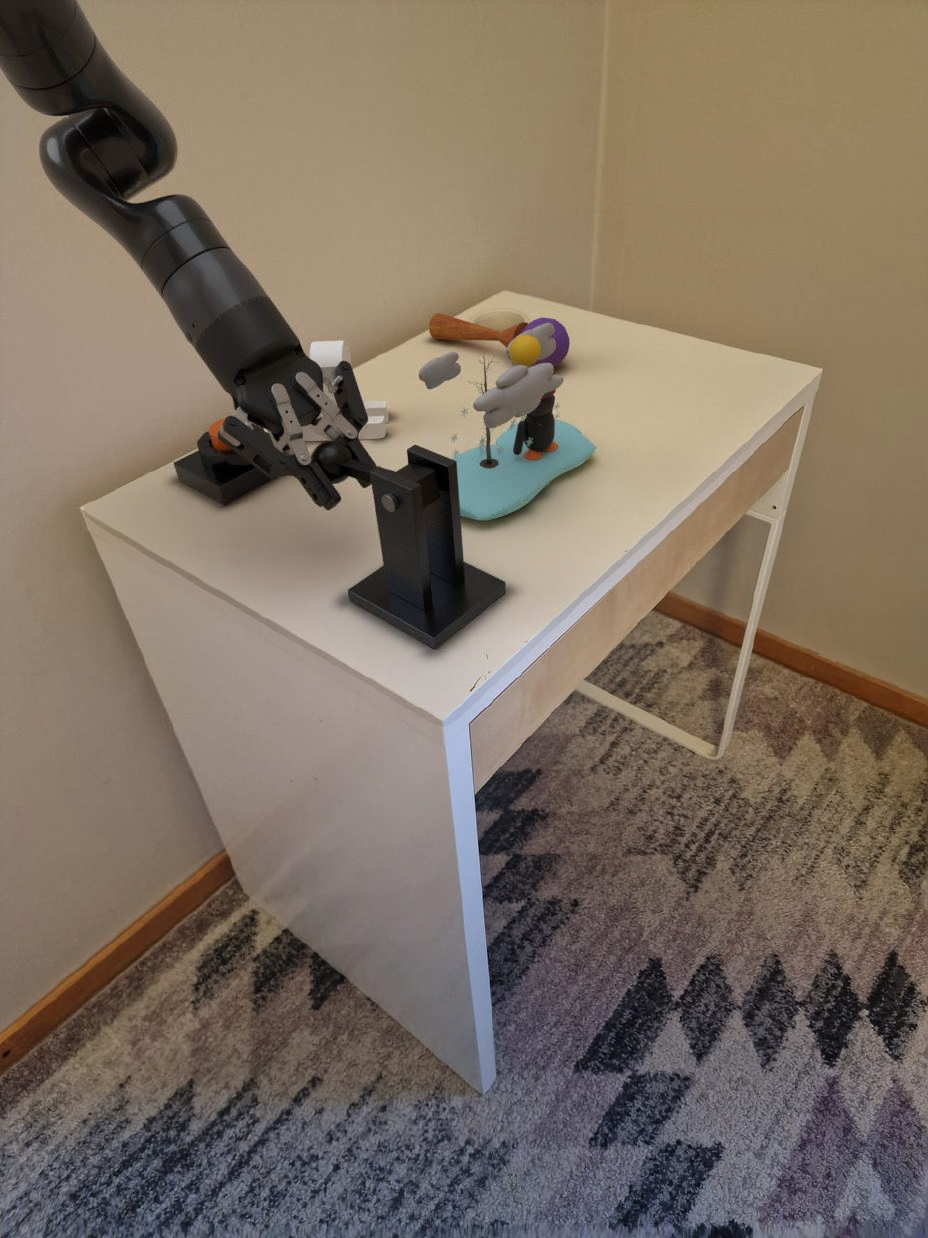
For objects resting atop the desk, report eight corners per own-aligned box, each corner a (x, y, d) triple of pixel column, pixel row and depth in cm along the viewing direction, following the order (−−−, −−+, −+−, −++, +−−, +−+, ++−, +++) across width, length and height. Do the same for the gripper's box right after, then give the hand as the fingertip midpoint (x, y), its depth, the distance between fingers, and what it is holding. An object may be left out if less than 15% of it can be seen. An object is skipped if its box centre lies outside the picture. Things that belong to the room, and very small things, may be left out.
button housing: (224, 506, 85) (214, 471, 83) (178, 480, 90) (167, 447, 87) (300, 463, 91) (293, 430, 88) (254, 441, 95) (246, 409, 92)
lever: (307, 486, 73) (296, 448, 71) (339, 468, 75) (328, 430, 73) (416, 521, 65) (407, 479, 63) (448, 500, 67) (440, 458, 65)
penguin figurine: (538, 424, 94) (538, 285, 84) (616, 456, 88) (625, 311, 78) (403, 501, 84) (385, 354, 74) (481, 542, 78) (472, 388, 68)
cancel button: (228, 455, 86) (224, 440, 84) (204, 444, 88) (200, 428, 87) (259, 439, 88) (256, 424, 87) (235, 428, 90) (232, 413, 89)
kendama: (451, 299, 113) (580, 317, 102) (451, 345, 116) (576, 367, 105) (421, 305, 109) (552, 324, 98) (422, 353, 112) (549, 377, 101)
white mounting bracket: (304, 418, 98) (287, 334, 92) (389, 415, 98) (378, 330, 91) (295, 441, 94) (278, 355, 88) (384, 438, 94) (373, 351, 87)
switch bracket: (349, 600, 73) (324, 470, 65) (421, 550, 78) (407, 423, 69) (434, 649, 68) (420, 515, 59) (506, 592, 73) (502, 461, 64)
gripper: (167, 327, 64) (304, 516, 65) (311, 269, 71) (430, 440, 73) (150, 376, 70) (275, 548, 71) (283, 318, 78) (394, 475, 79)
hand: (353, 493), depth 72 cm, fingers closed on lever, 3 cm apart
